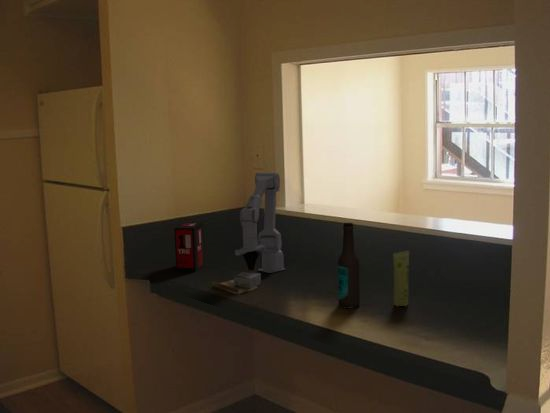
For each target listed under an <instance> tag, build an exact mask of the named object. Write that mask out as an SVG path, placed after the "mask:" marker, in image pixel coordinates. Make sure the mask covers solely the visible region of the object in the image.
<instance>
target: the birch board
mask: <svg viewBox="0 0 550 413" xmlns="http://www.w3.org/2000/svg"><path fill="white" fill-rule="evenodd" d="M212 287H213V288H216V289H217V290H221V291H225V292H228V293H231V294H234V295H240V294H244V293H248V292H252V291H255V290H256V291H257V290H259V286H258V285H257V286H255V287H253V288H251V289H250V288H242V287H234V279H231V280H227V281H224V282H217V281H212Z"/></svg>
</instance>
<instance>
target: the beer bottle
mask: <svg viewBox="0 0 550 413" xmlns="http://www.w3.org/2000/svg"><path fill="white" fill-rule="evenodd" d="M342 225H343V227H342V230H343V235H342V236H343V237H342V251H341V254H340V255H339V256H338V258H337V259H338V260H337V275H338V276H337V285H338V286H337V288H338V290H337V296H338V306H339V307H340V306H341V307H340V308H342V307H346V308H345V309H349V308H348V307H356V308H358V307H359V306H360V301H361V299H360V297H361V296H360V295H361V294H360V289H361V288H360V259H359V257H358V255H357V254H356V252H355V243H354V239H355V238H354V223H353V222H344V223H343V224H342ZM357 306H358V307H357Z"/></svg>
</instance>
